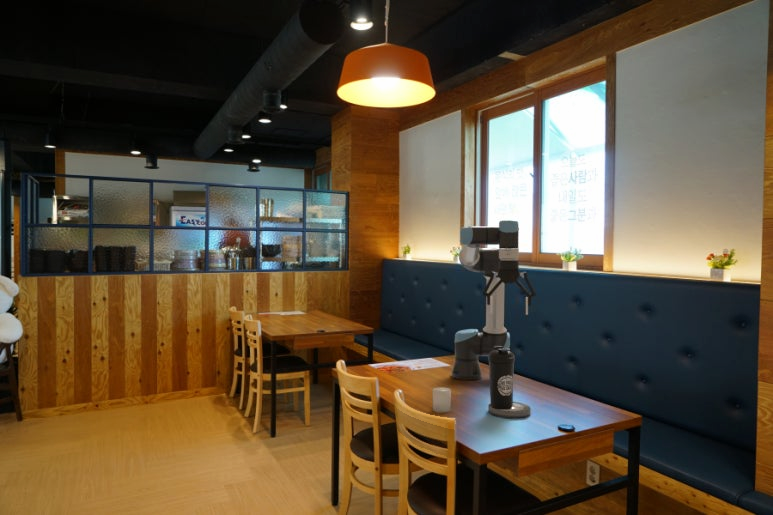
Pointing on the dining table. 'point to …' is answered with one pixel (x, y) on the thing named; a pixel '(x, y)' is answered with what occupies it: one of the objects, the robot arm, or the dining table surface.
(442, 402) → the white rounded capsule
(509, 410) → the grey plate
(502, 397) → the water bottle
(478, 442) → the dining table surface
